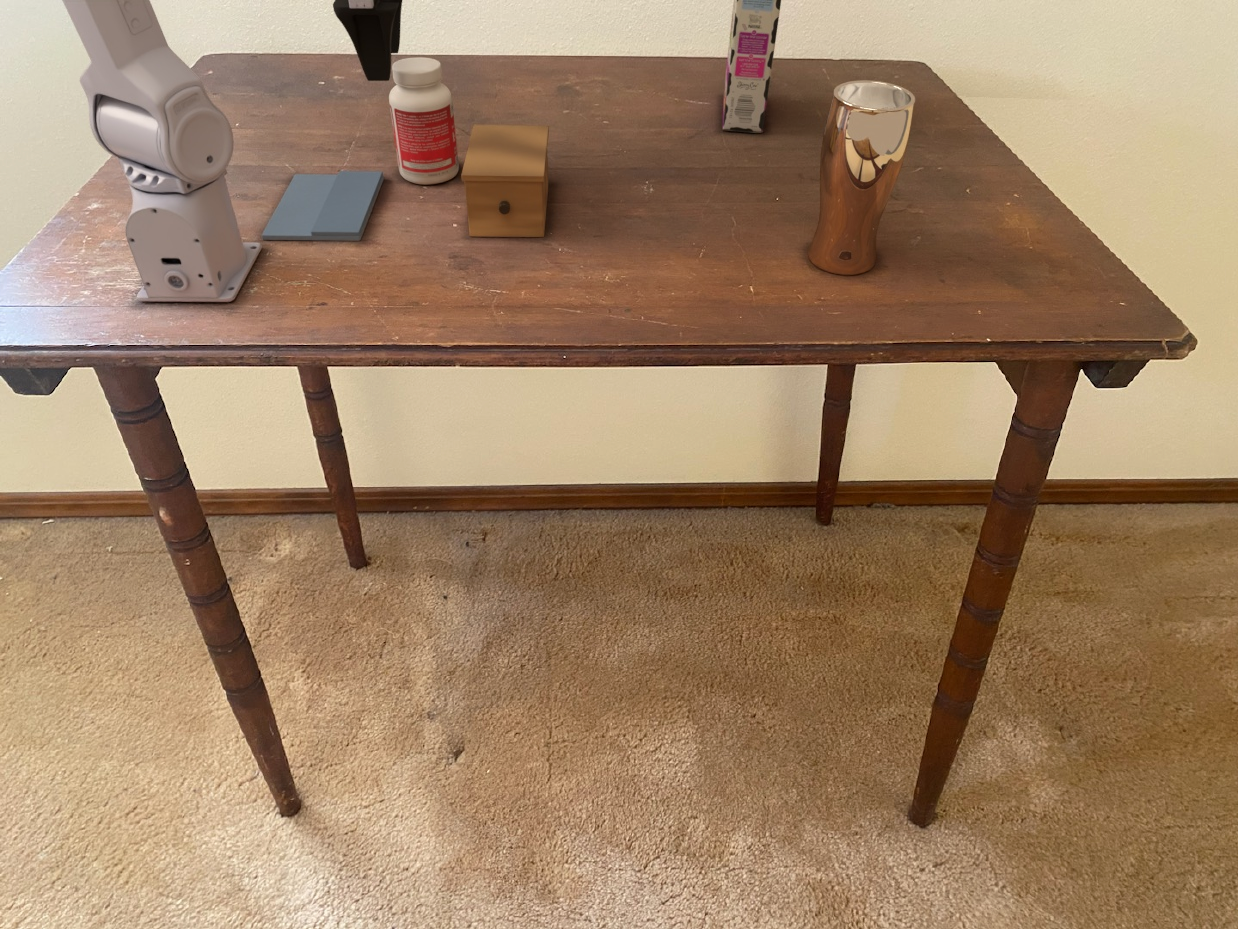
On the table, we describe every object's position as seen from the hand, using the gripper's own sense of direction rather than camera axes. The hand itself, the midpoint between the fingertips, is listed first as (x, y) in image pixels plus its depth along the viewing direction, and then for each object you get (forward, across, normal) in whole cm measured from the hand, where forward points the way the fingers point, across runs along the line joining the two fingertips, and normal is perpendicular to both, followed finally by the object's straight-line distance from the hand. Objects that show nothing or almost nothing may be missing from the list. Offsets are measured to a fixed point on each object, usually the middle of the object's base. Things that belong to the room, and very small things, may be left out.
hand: (383, 65), depth 92 cm
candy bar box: (+11, +14, -39) cm, 43 cm away
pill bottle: (+10, -2, -4) cm, 11 cm away
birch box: (+10, -10, -12) cm, 19 cm away
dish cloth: (+10, -9, +6) cm, 15 cm away
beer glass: (+10, -21, -43) cm, 49 cm away
